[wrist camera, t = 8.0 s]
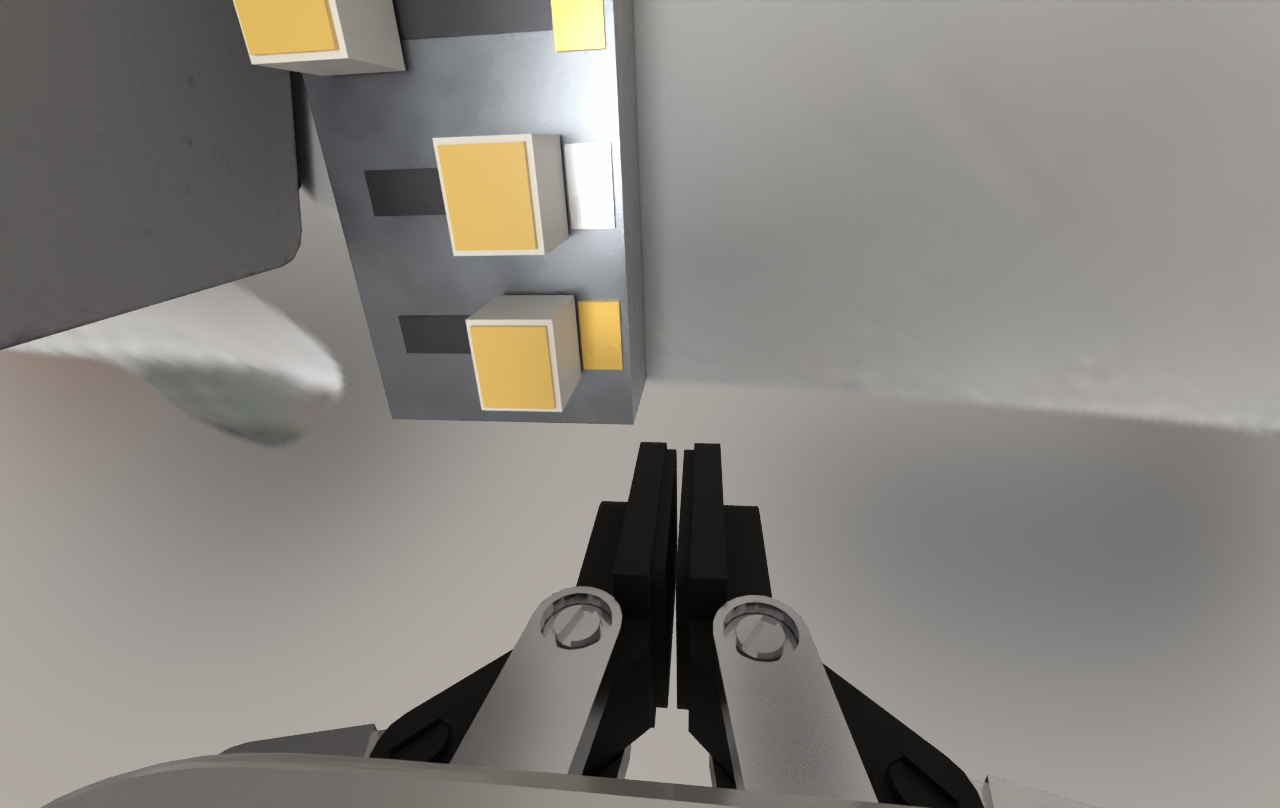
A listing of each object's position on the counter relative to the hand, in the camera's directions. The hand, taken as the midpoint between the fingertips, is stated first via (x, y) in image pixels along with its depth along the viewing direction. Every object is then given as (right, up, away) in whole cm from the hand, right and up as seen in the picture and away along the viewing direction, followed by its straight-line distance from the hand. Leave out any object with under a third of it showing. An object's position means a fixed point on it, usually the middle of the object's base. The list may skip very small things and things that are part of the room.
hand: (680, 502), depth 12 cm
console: (-6, +12, +13) cm, 19 cm away
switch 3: (-5, +5, +10) cm, 12 cm away
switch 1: (-10, +15, +6) cm, 19 cm away
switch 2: (-5, +10, +8) cm, 13 cm away
